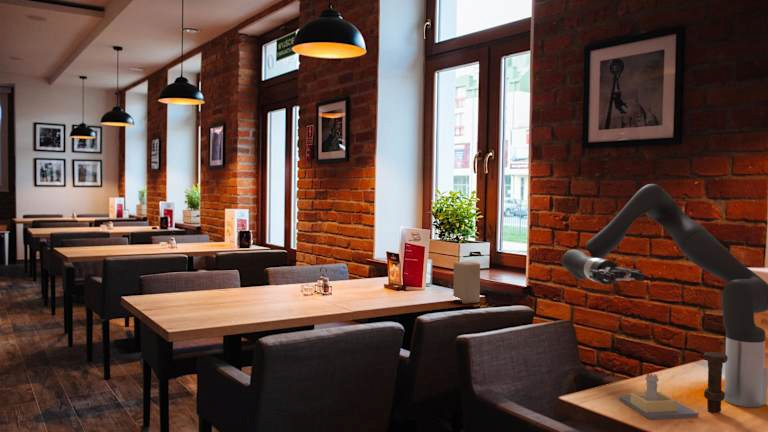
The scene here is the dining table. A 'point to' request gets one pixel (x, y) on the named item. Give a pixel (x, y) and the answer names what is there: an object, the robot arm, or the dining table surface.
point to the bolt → (714, 380)
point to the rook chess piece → (651, 388)
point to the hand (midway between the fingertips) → (628, 277)
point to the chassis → (658, 407)
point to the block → (467, 281)
